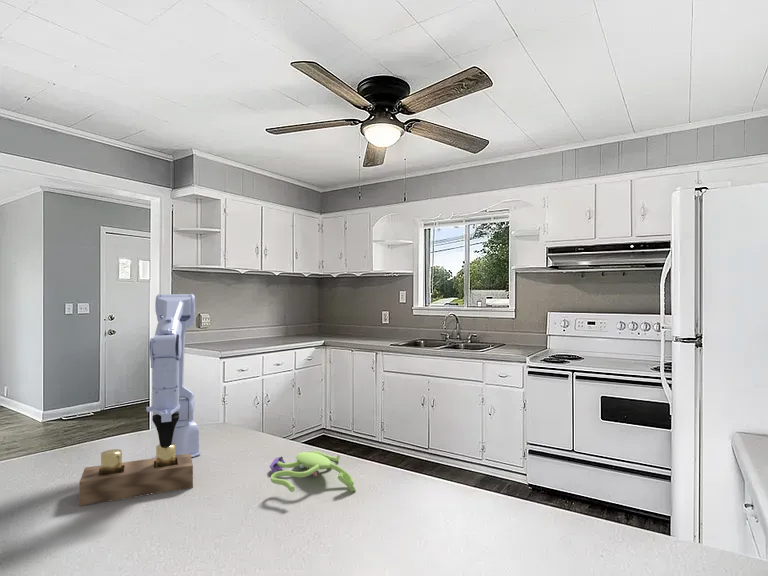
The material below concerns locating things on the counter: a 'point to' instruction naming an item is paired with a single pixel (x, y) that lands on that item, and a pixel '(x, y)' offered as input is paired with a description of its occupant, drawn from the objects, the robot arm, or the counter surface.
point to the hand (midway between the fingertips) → (165, 446)
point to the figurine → (308, 468)
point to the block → (135, 480)
